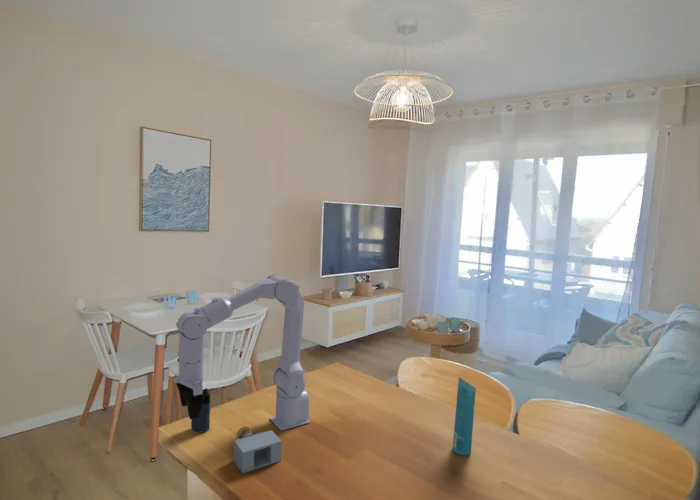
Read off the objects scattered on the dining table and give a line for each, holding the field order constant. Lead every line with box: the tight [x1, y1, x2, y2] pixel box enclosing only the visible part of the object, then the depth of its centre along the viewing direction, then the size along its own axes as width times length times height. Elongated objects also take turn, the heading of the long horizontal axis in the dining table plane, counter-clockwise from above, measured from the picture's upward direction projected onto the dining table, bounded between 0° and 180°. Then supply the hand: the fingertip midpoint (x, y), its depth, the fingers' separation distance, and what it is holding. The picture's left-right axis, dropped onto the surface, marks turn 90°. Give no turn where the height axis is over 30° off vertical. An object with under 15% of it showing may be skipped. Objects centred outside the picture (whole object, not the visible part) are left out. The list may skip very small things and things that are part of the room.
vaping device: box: [190, 387, 211, 433], centre depth 115 cm, size 3×5×12 cm, turn 78°
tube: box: [452, 376, 477, 456], centre depth 111 cm, size 7×5×19 cm, turn 26°
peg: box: [237, 425, 253, 439], centre depth 108 cm, size 7×4×4 cm, turn 35°
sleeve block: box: [233, 429, 283, 474], centre depth 103 cm, size 6×10×5 cm, turn 125°
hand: (190, 411), depth 106 cm, fingers open, 7 cm apart
